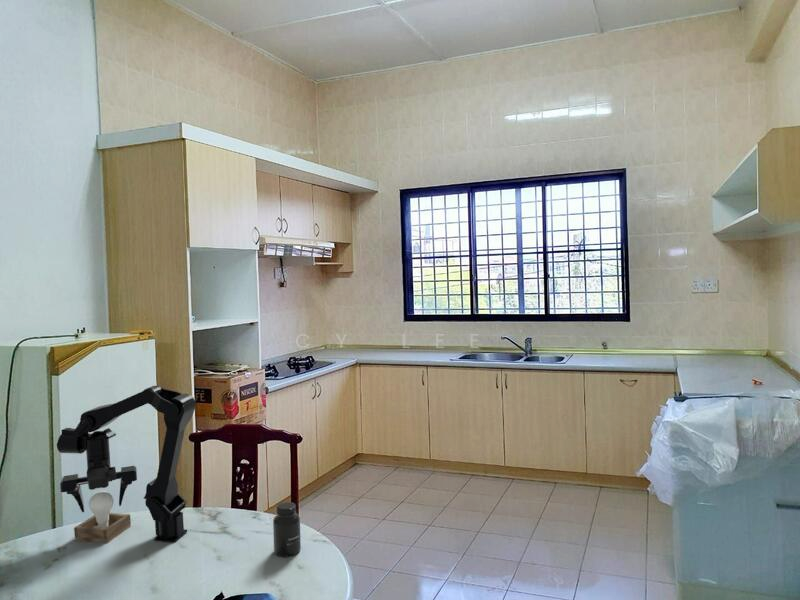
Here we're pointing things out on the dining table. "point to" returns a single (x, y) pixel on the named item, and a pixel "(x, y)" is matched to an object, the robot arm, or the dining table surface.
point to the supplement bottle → (286, 530)
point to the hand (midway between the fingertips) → (101, 508)
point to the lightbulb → (101, 507)
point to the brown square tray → (95, 534)
